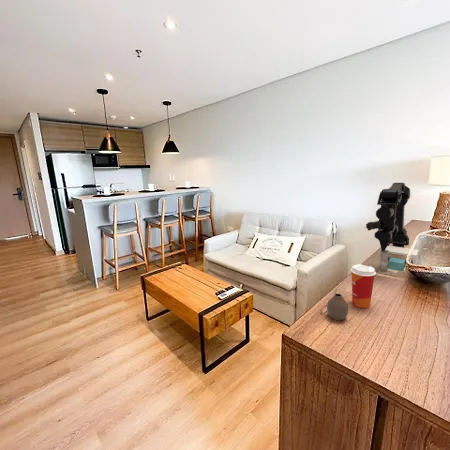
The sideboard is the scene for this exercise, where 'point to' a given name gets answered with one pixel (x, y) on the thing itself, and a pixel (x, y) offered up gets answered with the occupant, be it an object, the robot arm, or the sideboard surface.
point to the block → (396, 264)
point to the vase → (337, 307)
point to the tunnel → (403, 252)
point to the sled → (385, 265)
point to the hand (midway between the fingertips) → (385, 248)
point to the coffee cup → (362, 285)
